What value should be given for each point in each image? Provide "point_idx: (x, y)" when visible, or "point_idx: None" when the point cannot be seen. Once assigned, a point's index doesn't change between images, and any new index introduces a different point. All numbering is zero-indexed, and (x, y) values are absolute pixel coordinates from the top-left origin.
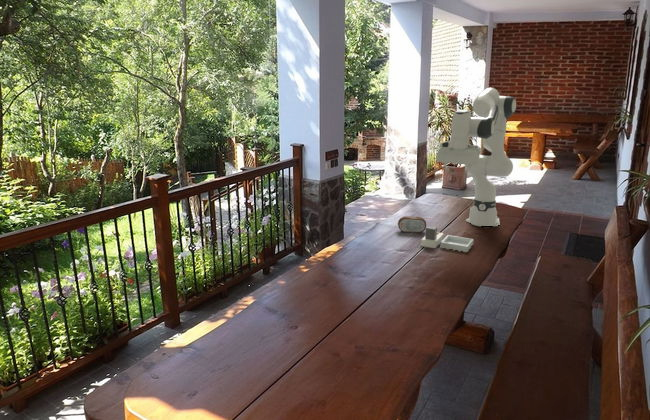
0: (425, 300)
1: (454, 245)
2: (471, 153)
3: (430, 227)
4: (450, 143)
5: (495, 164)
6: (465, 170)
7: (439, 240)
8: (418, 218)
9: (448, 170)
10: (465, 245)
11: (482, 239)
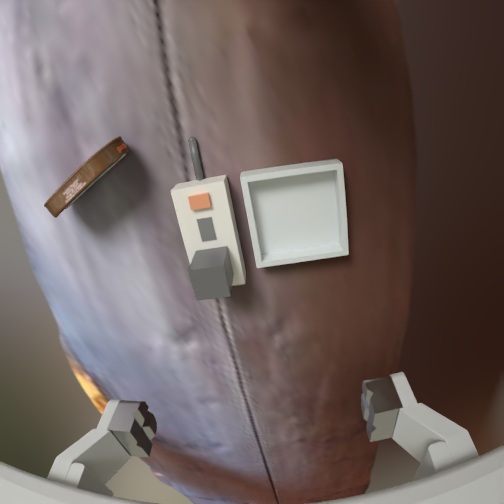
0: (334, 449)
1: (304, 259)
2: None
3: (205, 285)
4: None
5: None
6: (378, 436)
7: (236, 232)
8: (89, 177)
9: (149, 426)
10: (321, 195)
11: (343, 75)
